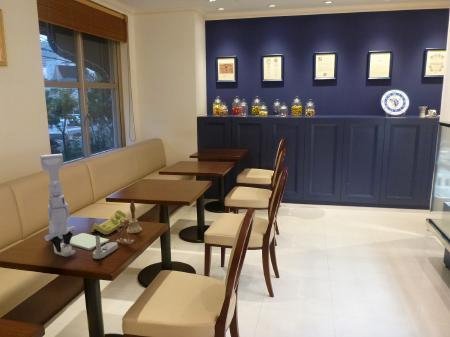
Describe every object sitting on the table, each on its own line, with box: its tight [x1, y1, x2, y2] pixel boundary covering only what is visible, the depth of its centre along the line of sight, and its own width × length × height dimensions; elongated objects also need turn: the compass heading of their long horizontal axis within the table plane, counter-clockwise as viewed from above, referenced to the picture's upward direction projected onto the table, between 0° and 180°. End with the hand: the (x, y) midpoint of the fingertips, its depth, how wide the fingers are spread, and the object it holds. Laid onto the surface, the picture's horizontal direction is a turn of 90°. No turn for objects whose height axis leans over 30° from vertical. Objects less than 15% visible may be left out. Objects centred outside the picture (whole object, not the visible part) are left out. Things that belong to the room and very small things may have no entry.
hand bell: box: [127, 200, 143, 234], centre depth 198 cm, size 8×8×16 cm
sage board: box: [61, 232, 110, 251], centre depth 185 cm, size 20×12×1 cm, turn 58°
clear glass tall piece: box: [115, 219, 136, 246], centre depth 182 cm, size 9×4×12 cm, turn 69°
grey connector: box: [52, 242, 76, 258], centre depth 172 cm, size 13×4×4 cm, turn 58°
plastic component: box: [90, 209, 128, 236], centre depth 204 cm, size 20×7×10 cm
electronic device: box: [92, 235, 119, 260], centre depth 171 cm, size 5×10×15 cm
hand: (63, 250), depth 172 cm, fingers closed on grey connector, 4 cm apart
